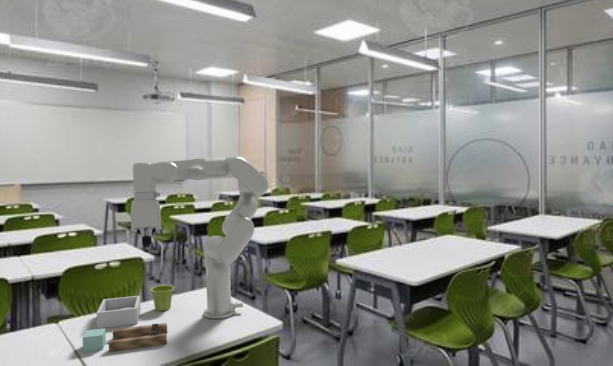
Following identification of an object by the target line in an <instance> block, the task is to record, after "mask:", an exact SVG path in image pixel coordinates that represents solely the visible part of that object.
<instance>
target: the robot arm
mask: <svg viewBox="0 0 613 366" xmlns="http://www.w3.org/2000/svg"><path fill="white" fill-rule="evenodd" d="M230 178H233V179H235V180H237V181H238V182H237V189H238V191H239V198H238V201H237V203H236V204H235V206H234V208H233V209H232V210H231V211H230V212H229V214H228V215H227V217H226V218H225V219H224V221H223V222H222V226H221V230H222V232H223V234H224V235H225V236H221V235H212V236H210V237H208V238H207V239H206V241H205V242H204V246H203V256H204V261H205V272H206V273H205V275H206V276H205V277H206V304H207V305H206V308H205V310H203V316H204V318H208V319H210V320H211V319H212V320H216V319H217V320H219V319H226V318H229V317H231V316H234V314H235V313H236V309H237V308H243V307H244V304H243V302H239V301H235V302H234V301H233V300H232V290H231V288H232V287H231V265H230V264H233V262H235V261H236V260H237V259H238V257H239V256H240V255H241V253H242V252H243V251H244V249H245V247H246V246H247V245H248V244H249V242H250V240H252V237H253V235H254V233H255V224H254V222H253V221H252V219H253V217H254V216H255V214H256V212H257V210H258V209H259V208H258V207H259V196H262V195H264V194H266V193H267V191H268V189H269V182H268V179H267V178H266V176H264V174H263V173H261V172H260V171H259V170H258V169H256V168H255V167H254V166H253V165H252V164H251V163H250V162H249V161H247V160H246V159H245V158H243V157H241V156H219V157H200V158H194V159H193V158H192V159H184V160H166V161H157V162H156V163H153V162H136V163H134V164H133V166H132V179H133V180H132V181H133V184H132V185H133V200H132V201H131V207H130V232H134V233H137V234H139V235H140V236H141V240H142V246H143V247H144V248H150V245H152V236H153V234H154V233H155V232H158V231H161V230H162V229H163V227H162V224H161V223H162V217H161V216H162V214H161V206H160V202H159V199H157V198H160V197H161V193H160V192H157V188H156V187H157V186H156V183H157V182H163V183H169V182H170V183H171V182H173V181H177V180H179V181H181V180H193V181H207V180H219V179H230ZM145 229H148V230H147V231H148V232H147V234H146V232H145V231H146V230H145Z"/></svg>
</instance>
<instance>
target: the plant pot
mask: <svg viewBox="0 0 613 366" xmlns="http://www.w3.org/2000/svg"><path fill="white" fill-rule="evenodd" d="M174 289H175V286H173V285H168V284H167V285H166V284H165V285H164V284H163V285H158V286H154V287H152V288H151V289H150V292H151V294H152V298H153V304H154V309H155V311H159V312H161V311H164V312H165V311H167V310H170V309H171V306H172V296H173V293H174Z"/></svg>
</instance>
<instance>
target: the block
mask: <svg viewBox="0 0 613 366" xmlns="http://www.w3.org/2000/svg"><path fill="white" fill-rule="evenodd" d="M106 335H107V333H106V328H98V329H97V328H95V329H88V330H85V332H84V334H83V336H82V351H83V353H84V352H85V353H87V352H92V351H93V352H95V351H100V350H104V349H105V346H106V342H107V339H106V338H107V337H106Z"/></svg>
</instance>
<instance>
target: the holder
mask: <svg viewBox="0 0 613 366" xmlns="http://www.w3.org/2000/svg"><path fill="white" fill-rule="evenodd" d="M125 307H132V308H128V309H121V308H125ZM141 307H142V306H141V295H133V296H131V295H130V296H124V297H114V298H106V299H105V298H104V299H103V300H102V302H101V303H100V305H99V308H98V310H97V311H96V325H97V326H96V327H97V328H96V329H103V328H105V329H106V328H114V327H122V326H128V325H130V326H131V325H138V323H139V319H140V314H141V310H142V308H141ZM118 309H119V310H118Z"/></svg>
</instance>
